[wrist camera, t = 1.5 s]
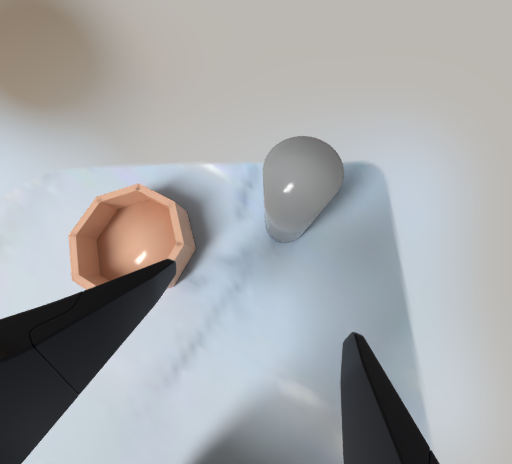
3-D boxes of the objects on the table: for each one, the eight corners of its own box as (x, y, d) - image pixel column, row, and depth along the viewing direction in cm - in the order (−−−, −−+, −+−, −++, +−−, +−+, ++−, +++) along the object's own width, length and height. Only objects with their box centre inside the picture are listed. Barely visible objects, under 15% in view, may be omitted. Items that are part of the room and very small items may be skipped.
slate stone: (310, 235, 23) (357, 193, 11) (272, 248, 23) (277, 218, 11) (296, 200, 24) (325, 126, 12) (260, 211, 24) (253, 149, 12)
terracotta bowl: (202, 277, 23) (191, 277, 20) (103, 309, 23) (74, 315, 19) (181, 187, 26) (168, 174, 22) (93, 215, 26) (66, 206, 22)
